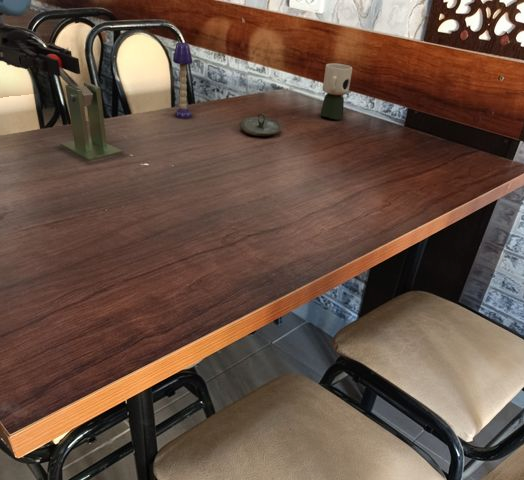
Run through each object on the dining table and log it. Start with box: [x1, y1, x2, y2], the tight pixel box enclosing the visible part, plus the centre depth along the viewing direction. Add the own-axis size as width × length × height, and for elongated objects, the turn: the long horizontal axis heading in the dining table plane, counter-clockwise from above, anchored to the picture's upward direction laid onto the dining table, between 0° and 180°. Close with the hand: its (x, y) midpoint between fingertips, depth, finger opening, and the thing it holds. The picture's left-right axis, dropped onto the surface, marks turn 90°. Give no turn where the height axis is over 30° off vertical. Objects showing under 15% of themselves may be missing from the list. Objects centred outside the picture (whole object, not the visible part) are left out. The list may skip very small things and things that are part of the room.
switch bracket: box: [59, 81, 124, 162], centre depth 103 cm, size 11×8×13 cm
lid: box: [238, 112, 283, 137], centre depth 125 cm, size 11×10×5 cm
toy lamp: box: [172, 42, 193, 120], centre depth 126 cm, size 5×5×17 cm
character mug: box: [319, 62, 353, 120], centre depth 137 cm, size 11×7×13 cm, turn 161°
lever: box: [47, 54, 93, 107], centre depth 101 cm, size 14×4×4 cm, turn 46°
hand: (67, 67), depth 99 cm, fingers closed on lever, 4 cm apart
